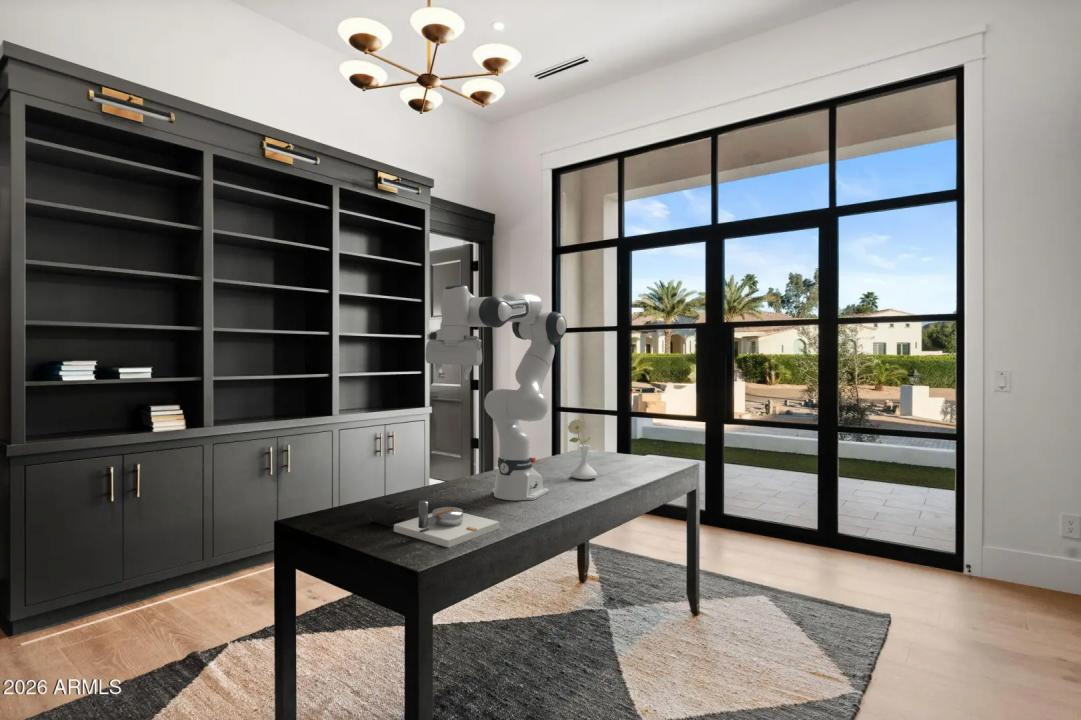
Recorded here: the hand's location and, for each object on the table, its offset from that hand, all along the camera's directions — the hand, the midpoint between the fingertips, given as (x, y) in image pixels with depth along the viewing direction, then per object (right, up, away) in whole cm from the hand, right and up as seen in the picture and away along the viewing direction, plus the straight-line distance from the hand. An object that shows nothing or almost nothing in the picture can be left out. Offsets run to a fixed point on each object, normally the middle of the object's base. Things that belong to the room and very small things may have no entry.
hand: (452, 379), depth 189 cm
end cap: (-19, -44, -8) cm, 49 cm away
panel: (0, -45, -12) cm, 46 cm away
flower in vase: (+45, -44, +62) cm, 88 cm away
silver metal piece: (-2, -42, -15) cm, 44 cm away
